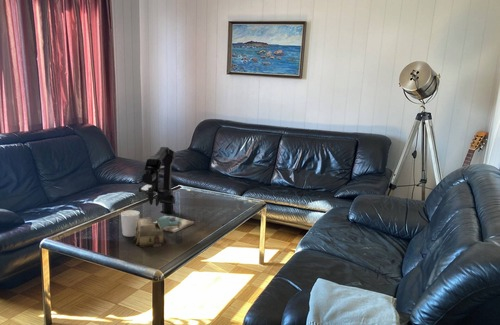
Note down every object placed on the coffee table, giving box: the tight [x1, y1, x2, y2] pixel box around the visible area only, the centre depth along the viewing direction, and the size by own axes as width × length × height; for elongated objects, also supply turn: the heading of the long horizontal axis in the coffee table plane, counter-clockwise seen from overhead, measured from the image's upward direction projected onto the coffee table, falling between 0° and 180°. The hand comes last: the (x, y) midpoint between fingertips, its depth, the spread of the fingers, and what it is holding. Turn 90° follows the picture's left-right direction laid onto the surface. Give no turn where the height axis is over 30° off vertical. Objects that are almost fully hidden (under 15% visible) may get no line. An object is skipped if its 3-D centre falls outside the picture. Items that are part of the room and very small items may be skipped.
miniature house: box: [133, 216, 166, 248], centre depth 209 cm, size 15×14×11 cm
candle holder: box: [120, 209, 141, 238], centre depth 218 cm, size 10×10×12 cm
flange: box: [156, 215, 181, 228], centre depth 232 cm, size 16×10×5 cm, turn 151°
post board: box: [153, 215, 195, 234], centre depth 235 cm, size 18×18×5 cm
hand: (154, 205), depth 232 cm, fingers open, 4 cm apart
